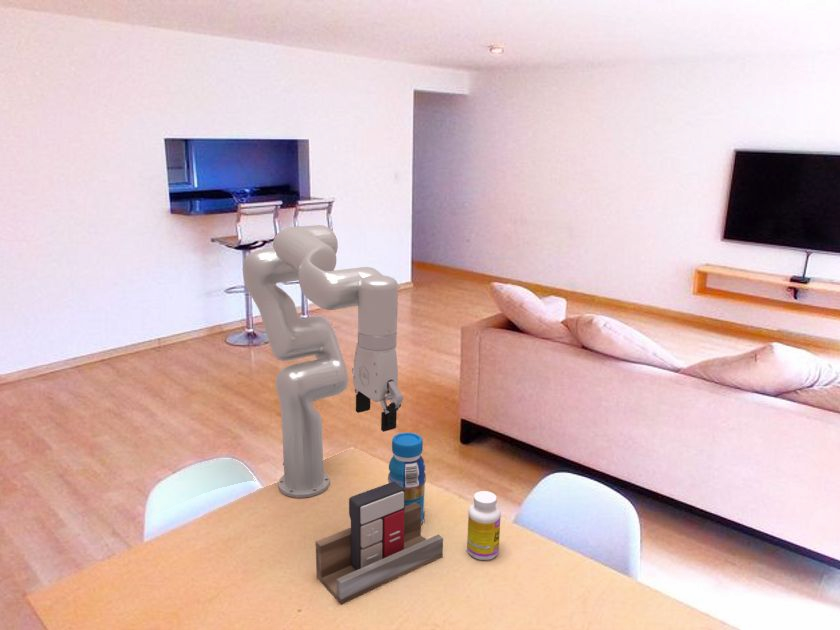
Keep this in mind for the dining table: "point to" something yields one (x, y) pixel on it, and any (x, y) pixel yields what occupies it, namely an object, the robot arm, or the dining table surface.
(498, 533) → the supplement bottle
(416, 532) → the wooden channel stand
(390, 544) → the calculator
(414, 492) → the beverage bottle
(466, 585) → the dining table surface
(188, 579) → the dining table surface
